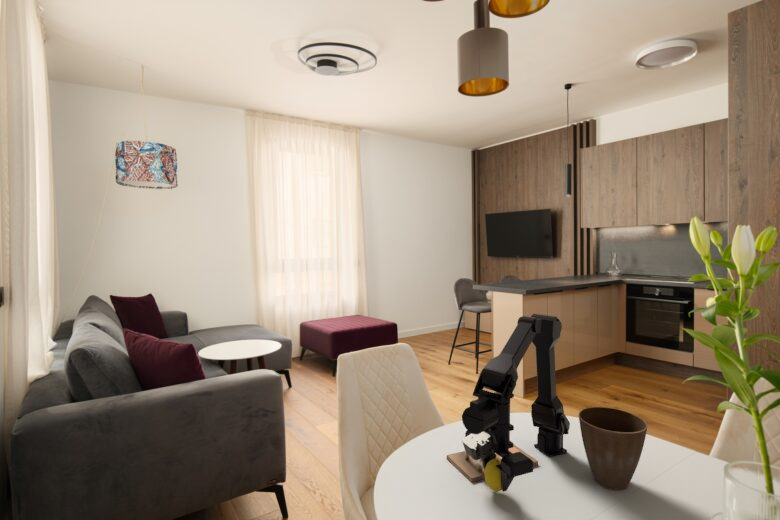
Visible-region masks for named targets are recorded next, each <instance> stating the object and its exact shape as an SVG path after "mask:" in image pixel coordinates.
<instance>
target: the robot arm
mask: <svg viewBox="0 0 780 520" xmlns="http://www.w3.org/2000/svg"><path fill="white" fill-rule="evenodd" d="M516 324H517V325H516V326H515V328H514V330H513V332H512V333H511V335H510V337H509V338H508V340H507V342H506V343H505V345H504V347H503V349H502V350H501V352H500V353H499V354H498V355H497V356H495V357H493V358H491V359H490V360H489V361H488V362H486V364H485V365H484V367H483V368H482V369H481V372H480V373H479V376H478V379H477V382H476V384H475V387H474V390H473V393H472V396H473V397H477V399H475V400H471V401H469V406H467V407H466V408H464V410H463V412H462V414H461V420H462V424H463V426H464V428H465V429H466V431H465V434H464V435H465V437H463V438H462V440H461V443H462V445H463V447H464V451H466V453H467V454H469V455H470V456H471V457H472V458H473V459H474V460H479V459H480V458H481V459H482V463H483V466H484V469H485V468H486V465H487V463H488V462H489V461H490V460H492V459H496V455H497V456H501V457H502V459H501V464H500V465H496V467H497V468H498V469H499V470H500V474H501V487H502V490H501V491H502V492H507V491H508V489H509V488H510V486H511V484H512V482H513V480H514V478H516V477H518V476H522V475H526V474H527V475H528V474H530V473H533V472H534V466H533V461H532V460H531V459H530V458H528V457H527V456H526V455H524V454H523V453H521V452H516V453H511V452H510V451H509V448H513V444H514V442H513V441H511V439H510V438H511V435H510V434H511V432H512V431H514V429H515V427H514V425H513V424H512V423H511V399H513V398H514V397H515V394H514V391H515V388H516V386H517V382H518V379H519V375H518V367H519V365H520V363H521V361H522V360H523V358H524V357H525V354H526V353H527V351H528V349H529V347H530V345H531V344H533V346H534V347H535V356H536V357H535V360H536V361H535V363H536V364H535V365H536V378H537V380H536V381H537V382H536V383H537V397H536V399H535V400H534V402H533V403H532V404H531V405H530V407H531V408H530V409H531V413H530V414H531V415H530V416H531V420H532V425H533V427H536V428H538V433H537V437H536V438H537V443H535V444H533V446H534V447H535V448H536V449H537V450H539V451H541V452H542V453H544V454H545V455H547V456H548V457H554V456H557V455H558V456H559V455H562V454H566V453H568V450H567V449H566V448H564V435H568V434H569V430H570V424H571V422H570V421H569V419H568V418H567V417H568V416H566V414H565V410H564V405H563V402H562V401H561V400H560V399H559V397H558V395H557V381H556V376H557V375H556V355H555V346H556V344H557V342H558V341H559V339H560V338H561V332H562V327H563V325H562V322H561V319H559V318H558V316H555V315H547V314H541V313H540V314H539V313H533V314H532V315H531V316H528V315H527V316H525V315H523V316H520V317H518V319H517V323H516ZM485 389H486V390H485ZM488 390H489V391H488ZM492 391H493V392H492Z"/></svg>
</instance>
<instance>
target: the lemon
mask: <svg viewBox="0 0 780 520" xmlns="http://www.w3.org/2000/svg"><path fill="white" fill-rule="evenodd" d="M500 464H501V460H499V459H497V458H496V459H492V460H490V461H489V462H488V463H487V465H486V468H485V479H484V480H485V483H486V485H487V487H489V489H491V490H492V491H494V492H495V493H497V492H501V491H502V487H501V474H500V470H499V469H498V468H497V467H496V465H500Z"/></svg>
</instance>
